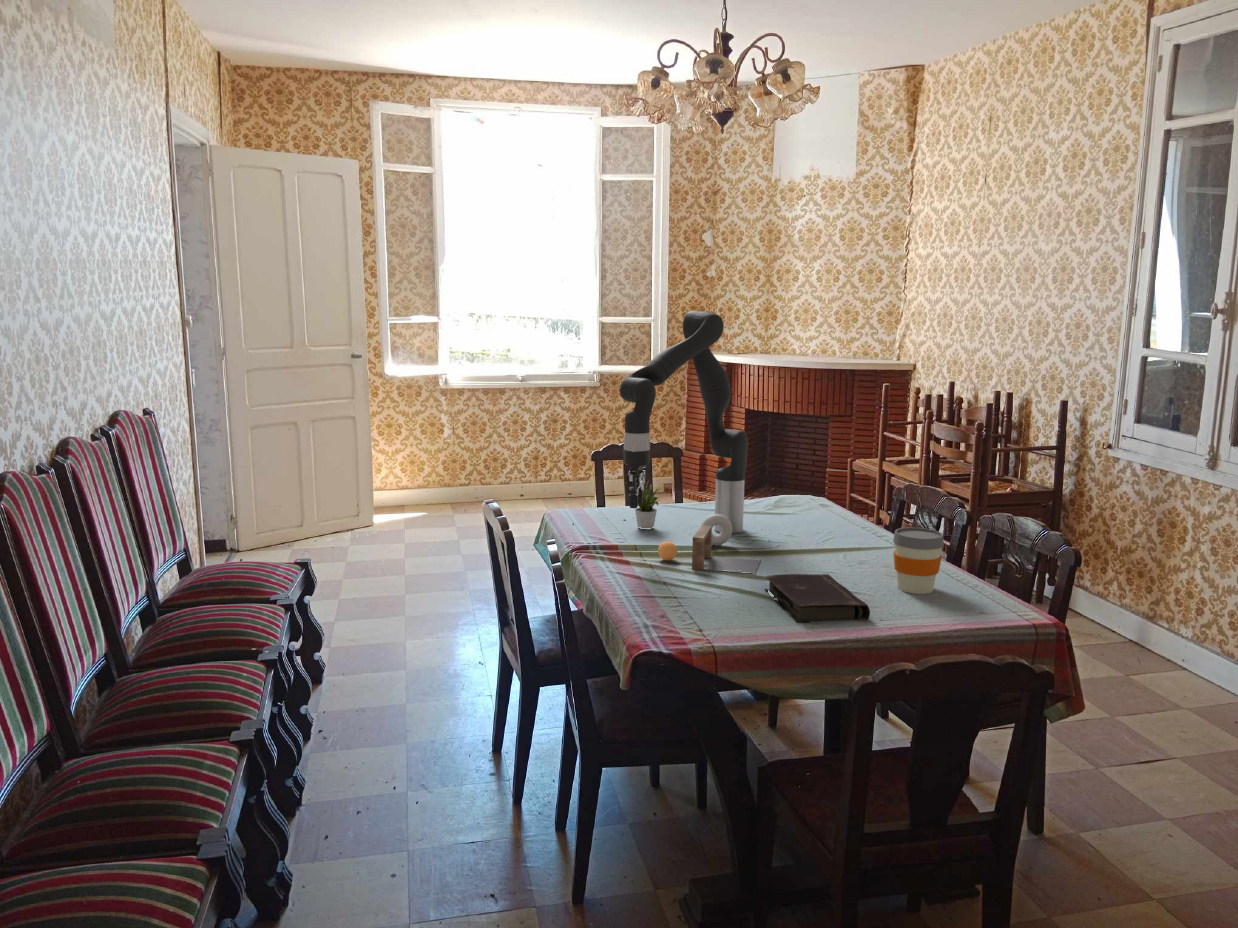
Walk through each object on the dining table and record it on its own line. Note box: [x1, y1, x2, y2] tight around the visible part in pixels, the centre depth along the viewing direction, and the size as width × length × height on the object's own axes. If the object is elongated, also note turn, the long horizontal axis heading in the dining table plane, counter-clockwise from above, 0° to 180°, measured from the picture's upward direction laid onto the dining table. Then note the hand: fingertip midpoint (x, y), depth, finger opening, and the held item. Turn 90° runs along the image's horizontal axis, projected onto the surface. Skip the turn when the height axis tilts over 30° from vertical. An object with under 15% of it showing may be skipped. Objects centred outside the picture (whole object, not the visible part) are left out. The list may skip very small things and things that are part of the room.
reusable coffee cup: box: [892, 527, 945, 595], centre depth 243 cm, size 13×13×15 cm
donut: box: [700, 513, 733, 546], centre depth 285 cm, size 10×4×10 cm, turn 99°
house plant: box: [632, 479, 666, 528], centre depth 305 cm, size 14×14×16 cm
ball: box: [657, 541, 678, 561], centre depth 269 cm, size 6×6×6 cm
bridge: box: [691, 526, 713, 571], centre depth 266 cm, size 3×14×9 cm, turn 165°
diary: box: [764, 573, 871, 624], centre depth 231 cm, size 19×25×5 cm
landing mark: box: [704, 555, 762, 574], centre depth 264 cm, size 14×14×1 cm
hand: (636, 505), depth 269 cm, fingers open, 5 cm apart
